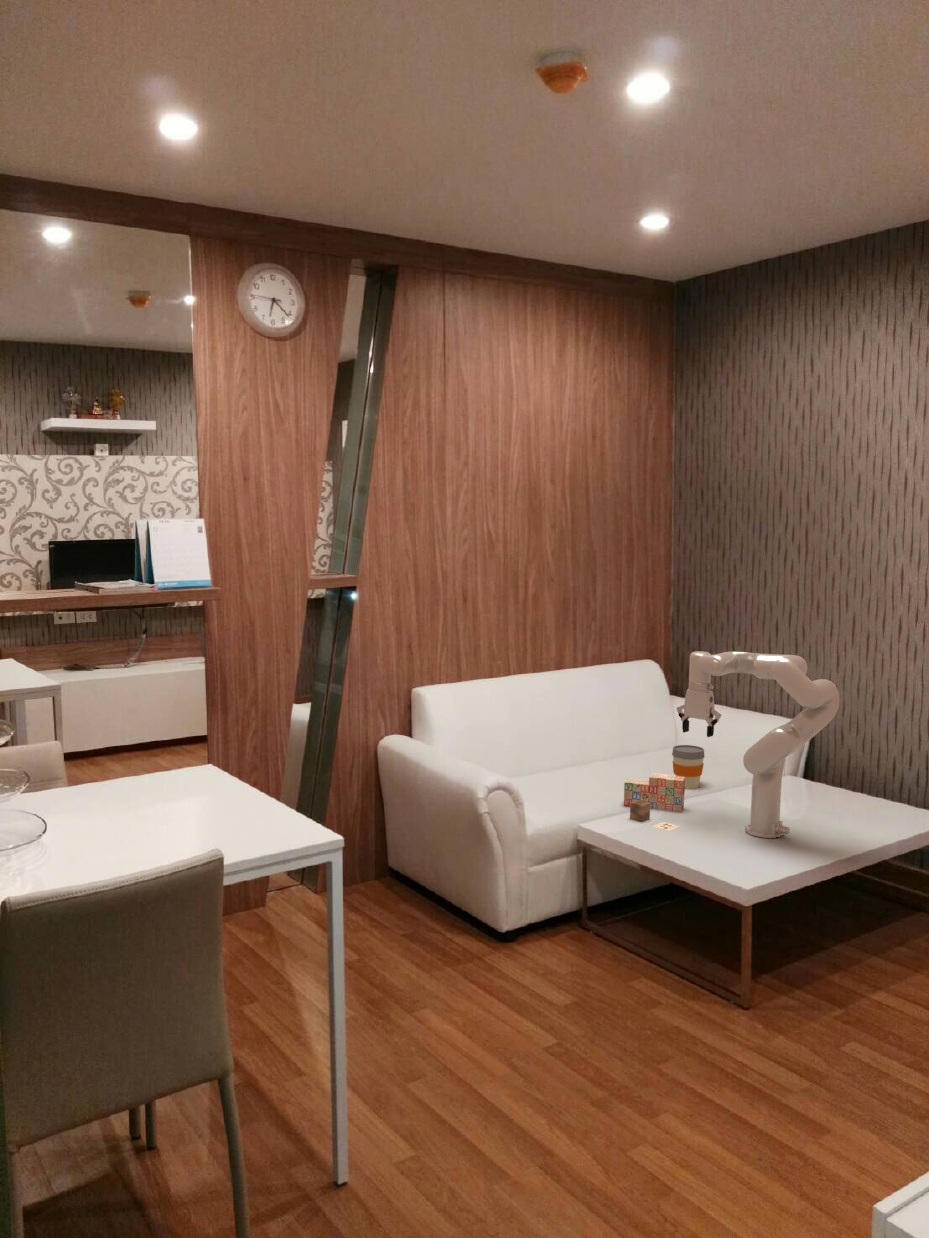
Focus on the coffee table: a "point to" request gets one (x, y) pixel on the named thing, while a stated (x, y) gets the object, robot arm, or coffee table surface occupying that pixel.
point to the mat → (660, 825)
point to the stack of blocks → (657, 792)
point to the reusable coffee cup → (688, 764)
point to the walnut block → (640, 811)
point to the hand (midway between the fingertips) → (697, 734)
